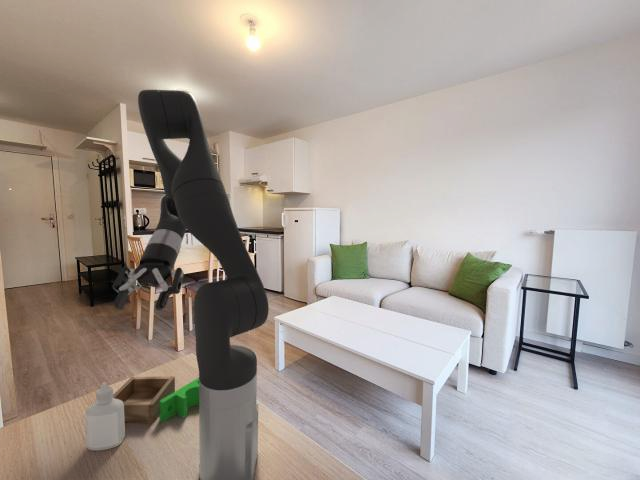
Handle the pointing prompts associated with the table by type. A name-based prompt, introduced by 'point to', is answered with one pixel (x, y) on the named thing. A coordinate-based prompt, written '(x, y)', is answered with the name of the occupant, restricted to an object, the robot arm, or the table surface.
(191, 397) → the pipe clamp
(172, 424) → the table surface
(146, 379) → the box
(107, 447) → the eye dropper bottle
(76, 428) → the table surface
